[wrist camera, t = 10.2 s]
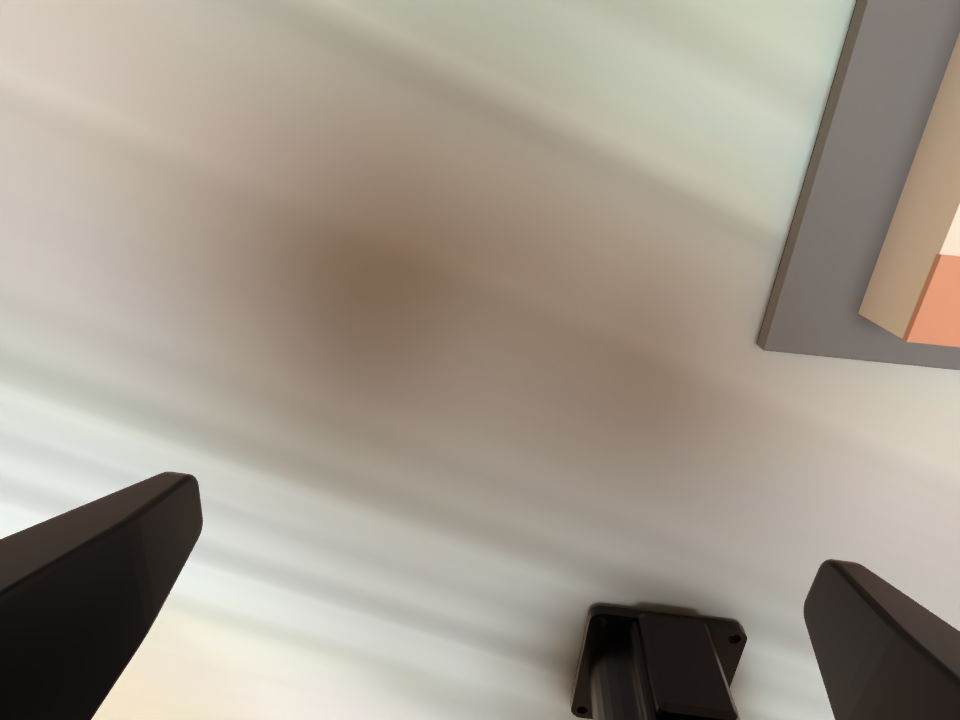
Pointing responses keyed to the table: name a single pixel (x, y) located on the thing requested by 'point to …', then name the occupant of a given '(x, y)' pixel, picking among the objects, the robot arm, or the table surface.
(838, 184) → the card mat
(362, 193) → the table surface
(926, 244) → the card deck
